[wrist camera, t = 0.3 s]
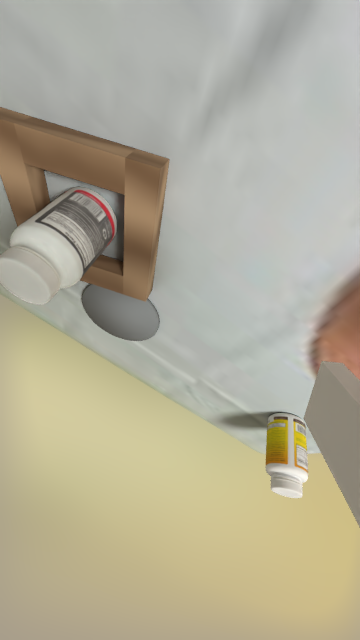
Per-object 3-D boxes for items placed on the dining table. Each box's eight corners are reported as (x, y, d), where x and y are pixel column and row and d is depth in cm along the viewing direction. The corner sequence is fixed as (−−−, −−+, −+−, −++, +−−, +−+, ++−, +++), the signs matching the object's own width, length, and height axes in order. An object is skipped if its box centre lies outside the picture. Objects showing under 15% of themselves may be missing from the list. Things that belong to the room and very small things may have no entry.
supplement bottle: (263, 421, 44) (259, 490, 37) (274, 407, 40) (271, 482, 33) (297, 430, 43) (299, 502, 37) (311, 418, 39) (316, 496, 33)
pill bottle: (84, 246, 27) (21, 313, 20) (51, 192, 23) (-37, 253, 17) (128, 238, 24) (74, 310, 18) (100, 178, 21) (20, 241, 15)
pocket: (0, 107, 19) (-21, 112, 18) (169, 159, 19) (160, 168, 17) (41, 253, 29) (29, 263, 28) (152, 289, 28) (145, 301, 27)
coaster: (79, 269, 29) (77, 271, 29) (164, 297, 29) (163, 300, 28) (88, 323, 37) (86, 326, 36) (155, 346, 36) (153, 349, 36)
